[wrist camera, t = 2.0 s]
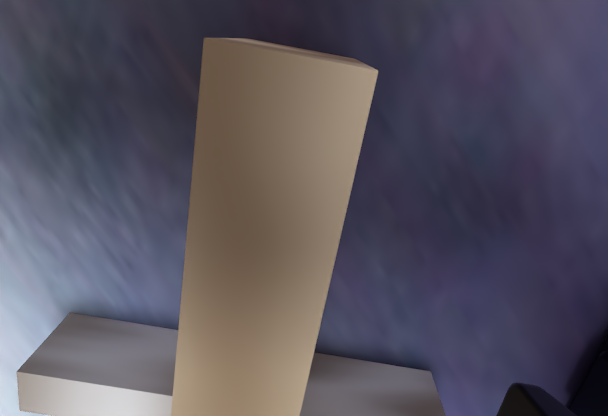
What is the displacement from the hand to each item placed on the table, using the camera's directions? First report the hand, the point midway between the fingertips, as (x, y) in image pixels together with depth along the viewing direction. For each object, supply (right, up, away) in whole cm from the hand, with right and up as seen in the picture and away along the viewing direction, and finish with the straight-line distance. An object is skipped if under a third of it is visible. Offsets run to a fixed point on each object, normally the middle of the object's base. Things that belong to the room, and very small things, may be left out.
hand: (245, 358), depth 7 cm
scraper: (0, +2, +7) cm, 7 cm away
